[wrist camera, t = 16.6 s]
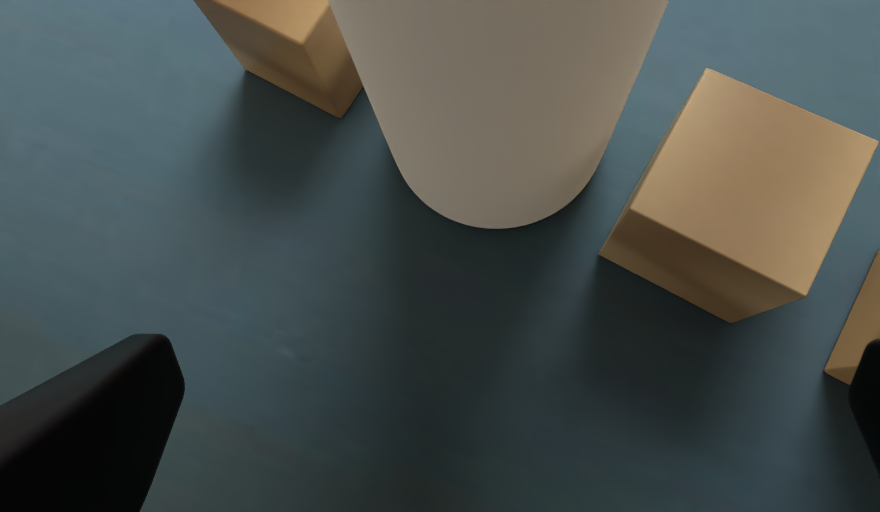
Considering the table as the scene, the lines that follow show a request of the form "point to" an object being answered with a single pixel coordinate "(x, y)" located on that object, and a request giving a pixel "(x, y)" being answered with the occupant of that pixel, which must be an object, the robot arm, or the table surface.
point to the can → (498, 95)
